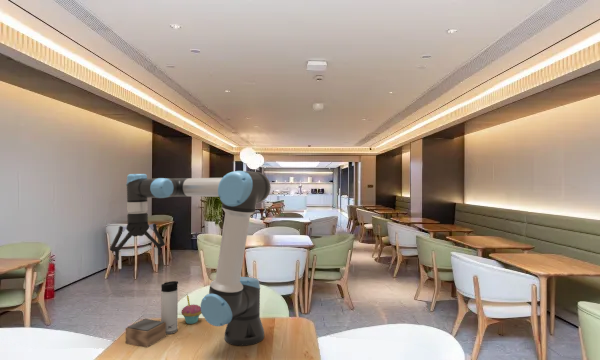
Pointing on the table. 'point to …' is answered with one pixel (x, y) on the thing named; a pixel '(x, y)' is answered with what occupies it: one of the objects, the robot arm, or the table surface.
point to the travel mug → (169, 306)
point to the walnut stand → (145, 332)
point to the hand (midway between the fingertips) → (138, 266)
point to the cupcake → (191, 312)
